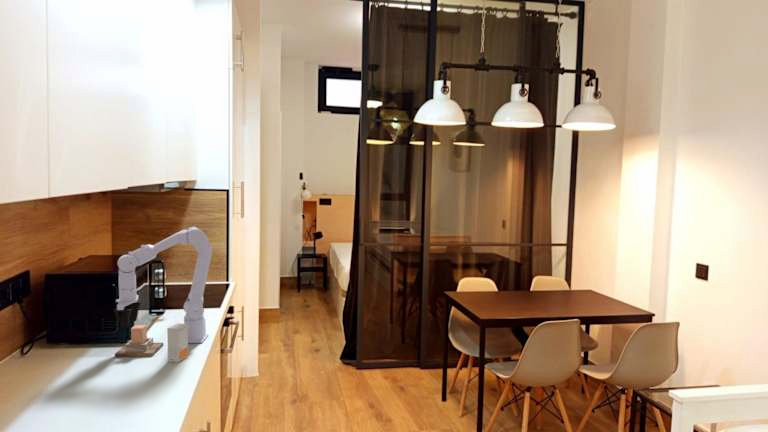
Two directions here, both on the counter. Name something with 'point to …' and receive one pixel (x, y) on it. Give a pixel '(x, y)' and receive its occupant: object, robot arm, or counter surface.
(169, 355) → the skincare box
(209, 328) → the counter surface
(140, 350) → the socket board
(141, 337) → the peg
